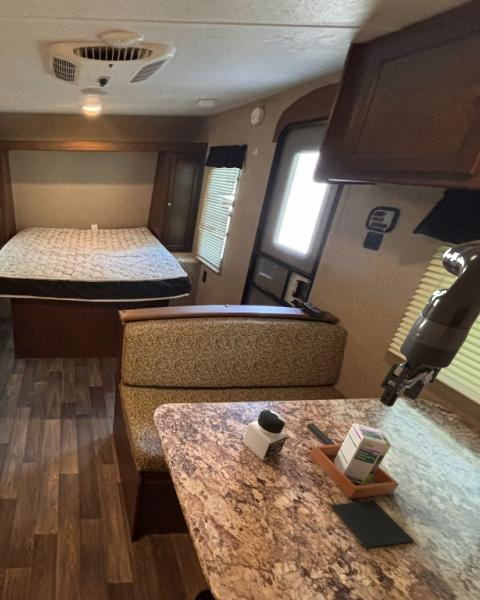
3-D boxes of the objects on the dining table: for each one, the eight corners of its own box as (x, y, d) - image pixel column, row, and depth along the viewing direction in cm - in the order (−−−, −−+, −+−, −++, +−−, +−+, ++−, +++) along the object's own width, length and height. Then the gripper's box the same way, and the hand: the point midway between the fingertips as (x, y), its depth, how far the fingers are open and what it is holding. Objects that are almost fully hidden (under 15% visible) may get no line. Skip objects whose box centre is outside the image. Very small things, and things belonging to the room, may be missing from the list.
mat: (372, 501, 77) (373, 500, 77) (412, 541, 69) (413, 540, 69) (330, 506, 76) (331, 505, 76) (366, 548, 68) (367, 547, 67)
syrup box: (340, 478, 83) (363, 438, 77) (332, 460, 88) (353, 421, 82) (366, 486, 81) (392, 446, 75) (357, 467, 86) (380, 428, 80)
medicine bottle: (262, 461, 86) (276, 429, 81) (241, 441, 92) (252, 410, 87) (280, 453, 89) (294, 421, 84) (258, 434, 95) (270, 404, 90)
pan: (324, 429, 98) (328, 421, 97) (392, 493, 80) (399, 484, 78) (288, 432, 96) (292, 424, 95) (349, 498, 78) (355, 489, 76)
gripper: (436, 354, 59) (397, 419, 66) (478, 344, 64) (437, 405, 71) (390, 334, 66) (358, 395, 73) (431, 326, 70) (397, 384, 77)
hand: (397, 400), depth 71 cm, fingers open, 8 cm apart
